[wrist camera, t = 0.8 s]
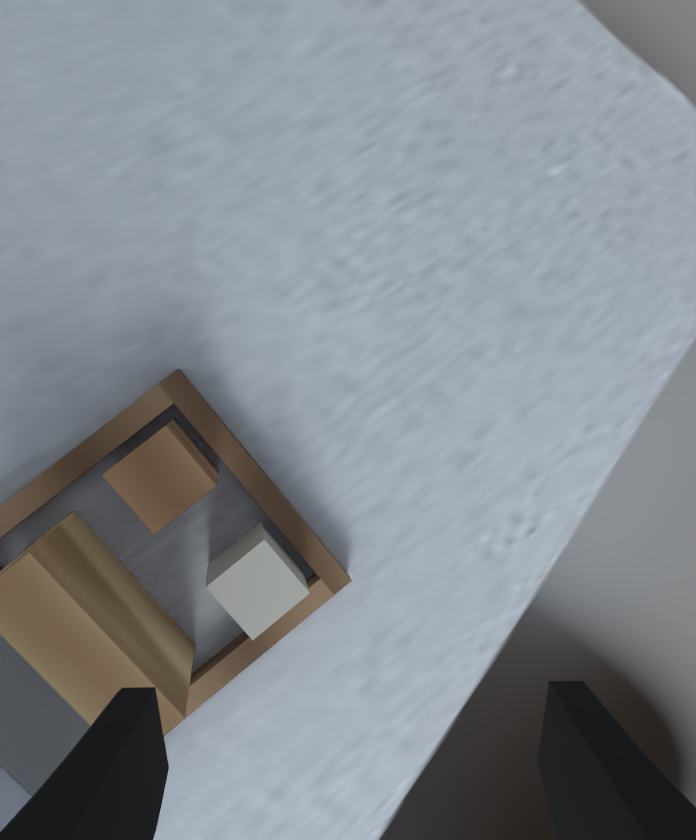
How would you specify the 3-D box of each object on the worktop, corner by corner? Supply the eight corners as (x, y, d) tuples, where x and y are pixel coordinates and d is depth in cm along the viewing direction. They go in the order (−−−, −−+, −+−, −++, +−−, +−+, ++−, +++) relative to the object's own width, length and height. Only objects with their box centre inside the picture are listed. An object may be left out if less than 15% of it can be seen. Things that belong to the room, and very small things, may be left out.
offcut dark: (164, 513, 28) (154, 534, 24) (118, 460, 27) (101, 475, 24) (218, 470, 28) (216, 485, 24) (174, 417, 27) (165, 425, 24)
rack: (139, 744, 28) (136, 758, 27) (-53, 547, 26) (-64, 554, 25) (347, 573, 29) (351, 580, 28) (179, 368, 27) (177, 369, 26)
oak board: (150, 679, 28) (128, 764, 22) (26, 547, 27) (-33, 600, 21) (195, 643, 28) (184, 717, 22) (74, 510, 27) (29, 552, 21)
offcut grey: (250, 611, 29) (252, 640, 26) (208, 563, 28) (205, 587, 25) (302, 569, 29) (309, 593, 26) (261, 520, 28) (264, 539, 25)
